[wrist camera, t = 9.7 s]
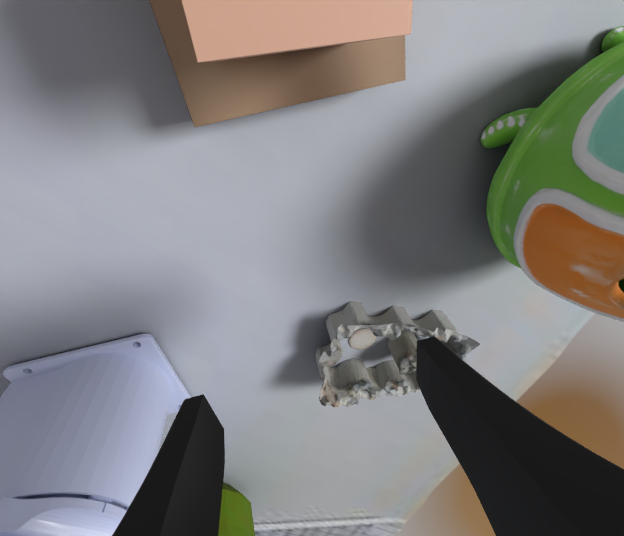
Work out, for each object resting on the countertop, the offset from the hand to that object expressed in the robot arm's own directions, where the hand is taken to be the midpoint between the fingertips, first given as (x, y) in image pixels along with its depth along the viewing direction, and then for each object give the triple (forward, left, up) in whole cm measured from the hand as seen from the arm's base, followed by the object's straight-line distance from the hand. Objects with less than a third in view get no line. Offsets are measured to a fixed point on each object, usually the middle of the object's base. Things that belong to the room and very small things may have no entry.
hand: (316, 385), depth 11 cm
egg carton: (+6, -10, -11) cm, 16 cm away
